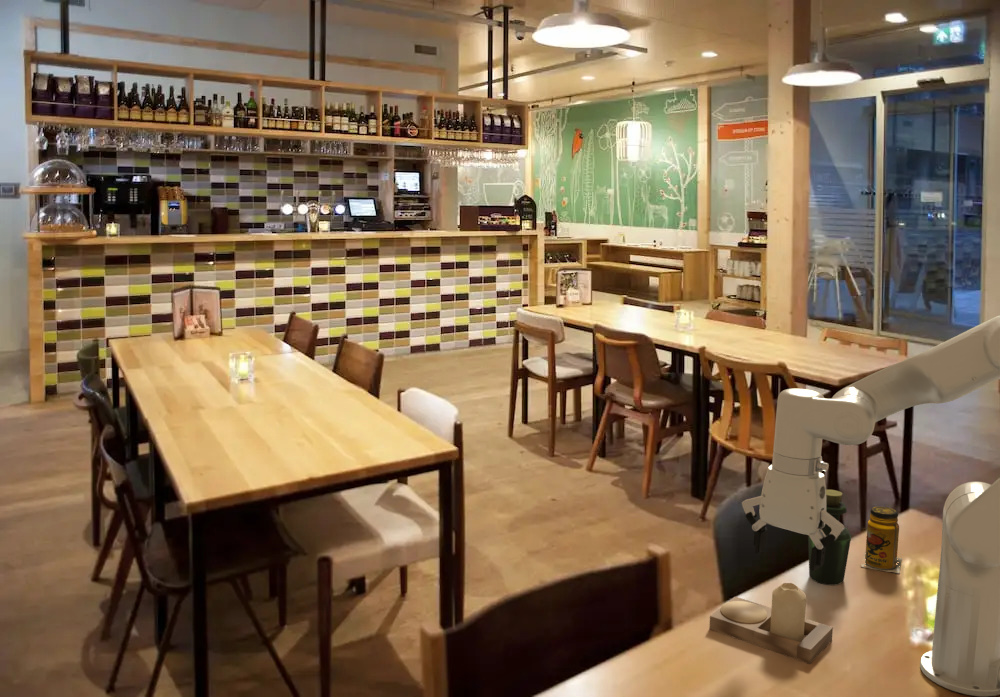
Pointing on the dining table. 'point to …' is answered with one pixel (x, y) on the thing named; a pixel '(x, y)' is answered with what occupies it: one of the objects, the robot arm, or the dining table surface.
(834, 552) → the potion bottle
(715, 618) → the wooden holder tray
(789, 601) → the candle
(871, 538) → the condiment
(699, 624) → the dining table surface
